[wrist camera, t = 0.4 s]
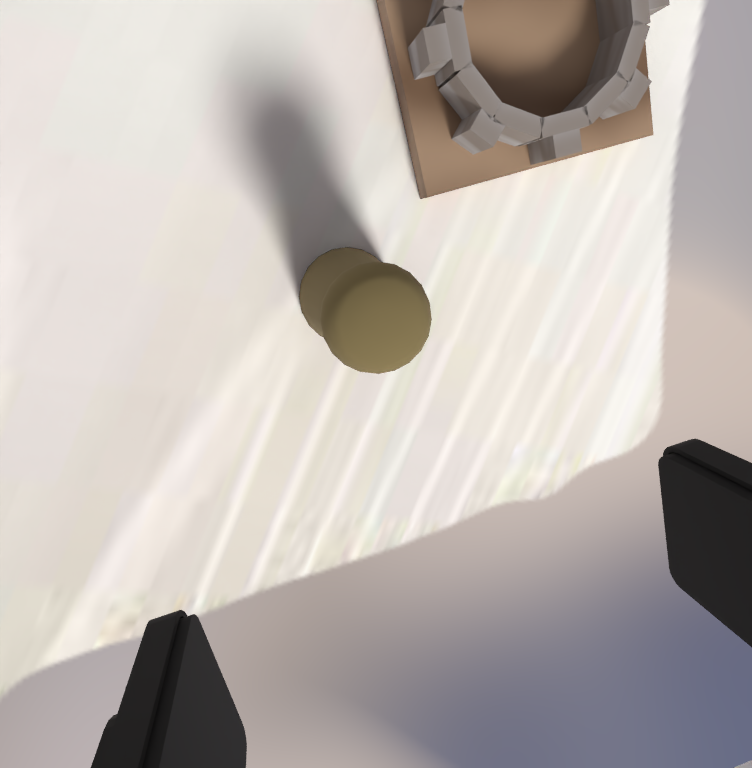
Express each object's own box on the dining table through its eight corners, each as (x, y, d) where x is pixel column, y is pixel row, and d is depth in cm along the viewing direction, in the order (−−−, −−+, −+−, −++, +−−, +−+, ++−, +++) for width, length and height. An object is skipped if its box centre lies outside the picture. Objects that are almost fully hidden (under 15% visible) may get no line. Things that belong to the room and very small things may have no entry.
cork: (287, 328, 34) (297, 370, 23) (315, 233, 32) (338, 233, 22) (377, 354, 35) (423, 404, 25) (406, 264, 34) (468, 278, 24)
